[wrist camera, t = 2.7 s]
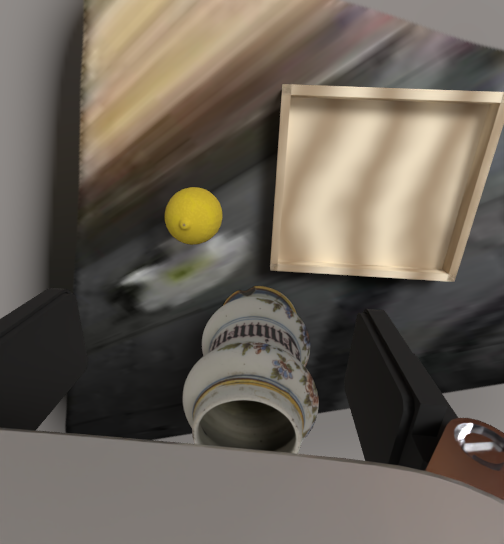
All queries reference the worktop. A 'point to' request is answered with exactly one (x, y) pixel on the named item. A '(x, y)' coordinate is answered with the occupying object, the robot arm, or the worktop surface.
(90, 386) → the worktop surface
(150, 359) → the worktop surface
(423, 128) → the birch tray
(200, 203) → the lemon
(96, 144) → the worktop surface
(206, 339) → the apothecary jar
